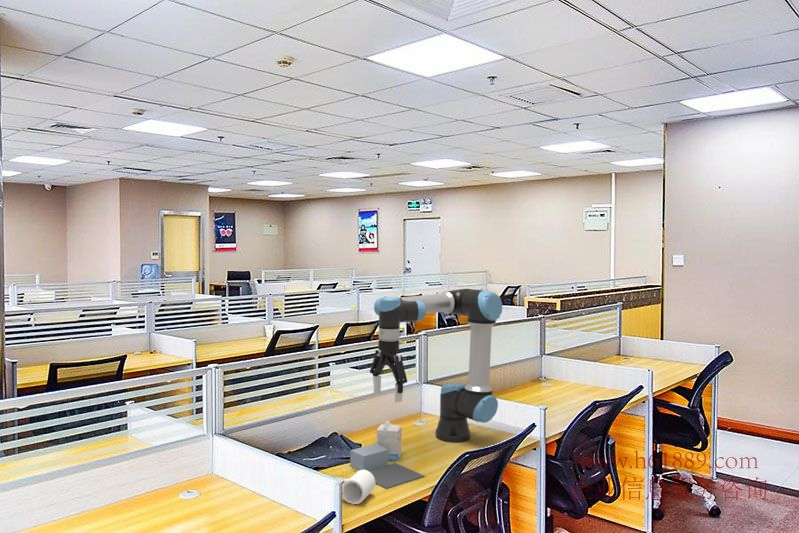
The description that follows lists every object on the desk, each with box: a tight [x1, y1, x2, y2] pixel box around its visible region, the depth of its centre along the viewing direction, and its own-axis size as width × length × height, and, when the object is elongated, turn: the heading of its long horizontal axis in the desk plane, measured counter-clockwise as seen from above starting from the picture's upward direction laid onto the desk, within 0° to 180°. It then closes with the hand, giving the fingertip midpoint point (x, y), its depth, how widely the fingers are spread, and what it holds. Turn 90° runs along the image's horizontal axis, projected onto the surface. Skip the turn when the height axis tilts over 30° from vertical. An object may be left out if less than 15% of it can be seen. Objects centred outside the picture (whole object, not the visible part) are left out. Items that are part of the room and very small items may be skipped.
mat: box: [369, 462, 425, 490], centre depth 224 cm, size 18×16×1 cm
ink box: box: [376, 420, 403, 462], centre depth 243 cm, size 9×8×13 cm
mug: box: [342, 470, 376, 505], centre depth 204 cm, size 12×10×8 cm
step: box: [349, 443, 390, 471], centre depth 233 cm, size 12×8×6 cm, turn 131°
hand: (387, 397), depth 227 cm, fingers open, 13 cm apart
